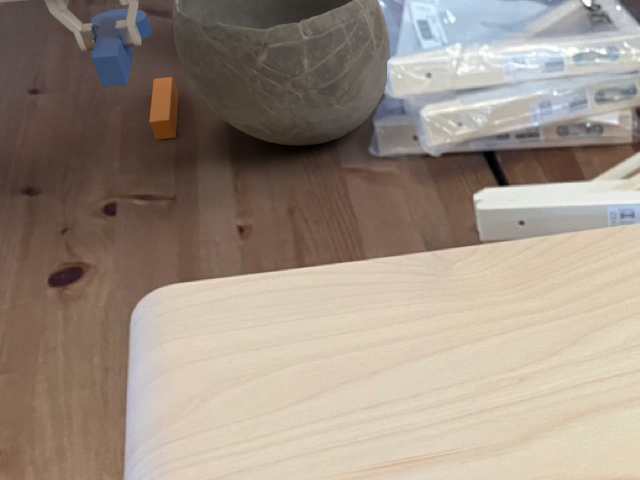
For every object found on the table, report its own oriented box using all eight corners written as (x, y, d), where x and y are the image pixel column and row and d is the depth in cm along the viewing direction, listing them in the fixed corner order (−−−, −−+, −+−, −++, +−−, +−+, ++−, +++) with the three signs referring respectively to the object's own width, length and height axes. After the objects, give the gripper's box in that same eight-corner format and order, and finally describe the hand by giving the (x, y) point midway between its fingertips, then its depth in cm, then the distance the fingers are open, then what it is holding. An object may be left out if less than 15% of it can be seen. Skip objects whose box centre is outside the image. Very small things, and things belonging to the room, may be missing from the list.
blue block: (145, 83, 88) (134, 53, 86) (85, 89, 87) (72, 59, 85) (153, 24, 98) (143, -4, 96) (99, 29, 97) (88, 1, 95)
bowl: (184, 125, 112) (128, -24, 101) (356, 79, 121) (322, -62, 110) (258, 195, 101) (205, 37, 90) (441, 138, 110) (412, -11, 100)
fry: (176, 137, 110) (169, 119, 108) (156, 140, 109) (149, 121, 108) (178, 94, 118) (172, 76, 116) (160, 96, 117) (153, 78, 116)
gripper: (180, -155, 84) (235, 22, 94) (-98, -138, 80) (-9, 46, 90) (178, -136, 80) (236, 46, 90) (-115, -118, 75) (-20, 73, 85)
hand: (112, 46), depth 90 cm, fingers closed on blue block, 2 cm apart
